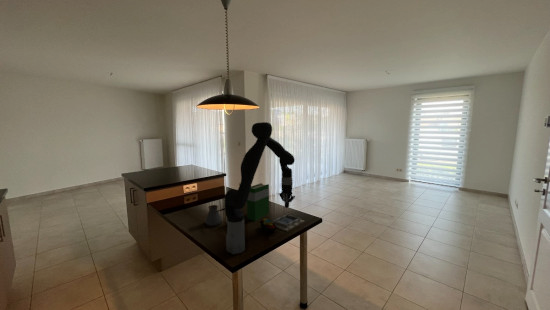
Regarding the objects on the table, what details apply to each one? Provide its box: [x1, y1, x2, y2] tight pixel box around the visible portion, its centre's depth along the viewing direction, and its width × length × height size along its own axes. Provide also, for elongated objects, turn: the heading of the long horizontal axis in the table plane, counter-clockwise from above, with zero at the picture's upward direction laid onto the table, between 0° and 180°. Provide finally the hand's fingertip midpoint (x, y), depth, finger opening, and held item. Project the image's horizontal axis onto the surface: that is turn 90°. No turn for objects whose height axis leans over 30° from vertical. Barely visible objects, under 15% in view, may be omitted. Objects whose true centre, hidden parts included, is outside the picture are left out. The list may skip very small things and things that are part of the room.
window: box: [272, 214, 305, 232], centre depth 153 cm, size 20×16×3 cm
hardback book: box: [246, 183, 270, 222], centre depth 164 cm, size 18×7×24 cm, turn 147°
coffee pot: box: [204, 204, 225, 227], centre depth 148 cm, size 21×12×15 cm, turn 56°
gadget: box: [259, 218, 277, 233], centre depth 142 cm, size 6×13×6 cm, turn 32°
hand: (286, 207), depth 152 cm, fingers closed
